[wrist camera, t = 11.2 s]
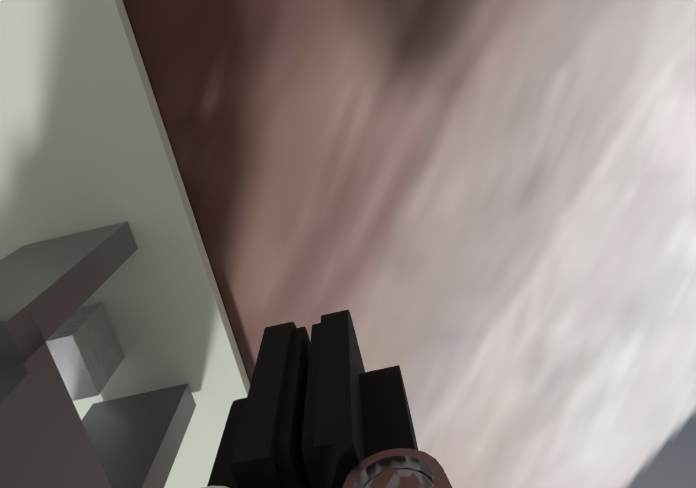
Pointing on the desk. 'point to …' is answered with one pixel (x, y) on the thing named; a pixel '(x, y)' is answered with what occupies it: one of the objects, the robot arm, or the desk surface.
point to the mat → (114, 206)
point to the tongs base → (86, 351)
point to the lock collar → (49, 388)
